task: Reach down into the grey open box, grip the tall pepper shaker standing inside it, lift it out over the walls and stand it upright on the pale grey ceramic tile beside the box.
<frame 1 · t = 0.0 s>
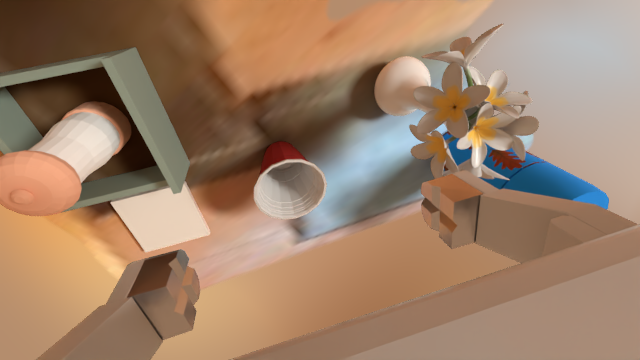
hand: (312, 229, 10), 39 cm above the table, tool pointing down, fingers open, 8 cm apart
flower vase: (388, 80, 49), on the table
ceramic tile: (165, 216, 52), on the table
pepper shaker: (103, 125, 42), resting in grey open box
plastic cup: (281, 156, 51), on the table
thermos: (456, 147, 60), on the table
grey open box: (102, 125, 42), on the table
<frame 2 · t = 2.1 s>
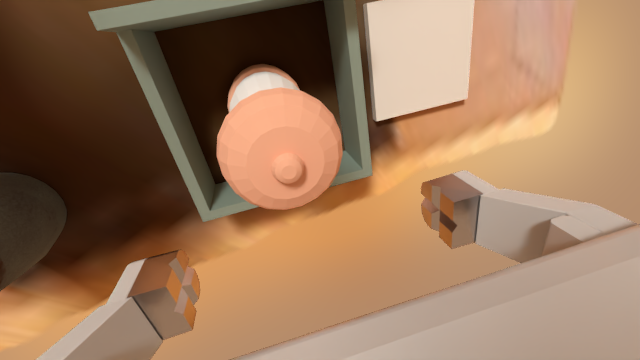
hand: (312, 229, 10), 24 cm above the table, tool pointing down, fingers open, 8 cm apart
ceramic tile: (418, 56, 32), on the table
pepper shaker: (264, 100, 31), resting in grey open box
bottle: (21, 206, 29), on the table
grey open box: (264, 100, 30), on the table
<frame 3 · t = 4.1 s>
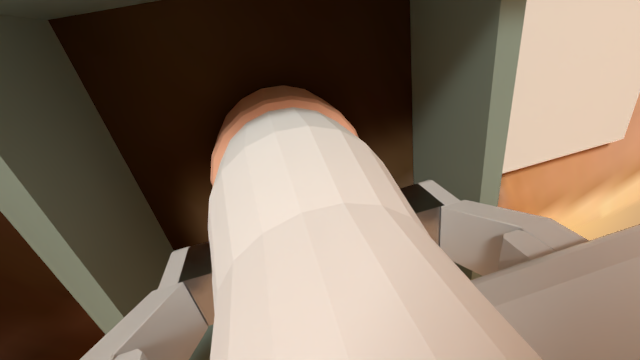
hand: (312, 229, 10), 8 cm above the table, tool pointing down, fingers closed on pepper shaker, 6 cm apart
ceramic tile: (557, 68, 18), on the table
pepper shaker: (283, 150, 16), resting in grey open box, touching arm, gripper
grey open box: (284, 151, 16), on the table
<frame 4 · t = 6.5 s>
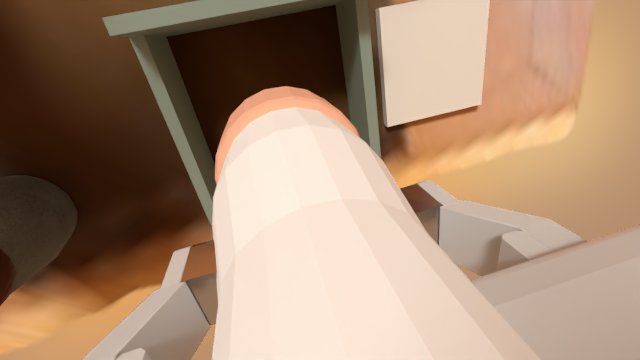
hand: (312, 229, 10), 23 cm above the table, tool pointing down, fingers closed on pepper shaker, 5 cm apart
ceramic tile: (430, 61, 32), on the table
pepper shaker: (286, 149, 17), point 15 cm above the table, touching gripper
bottle: (34, 208, 30), on the table
grey open box: (274, 105, 30), on the table
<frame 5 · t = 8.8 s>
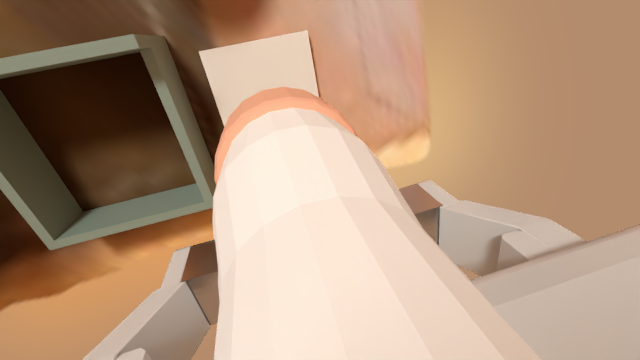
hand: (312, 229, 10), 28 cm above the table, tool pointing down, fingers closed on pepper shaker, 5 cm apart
ceramic tile: (267, 94, 35), on the table
pepper shaker: (285, 149, 17), point 20 cm above the table, touching gripper
grey open box: (117, 136, 33), on the table
when the fingers open (10 cm above the table, at t = 12.5 s): pepper shaker stays where it is, resting on ceramic tile.
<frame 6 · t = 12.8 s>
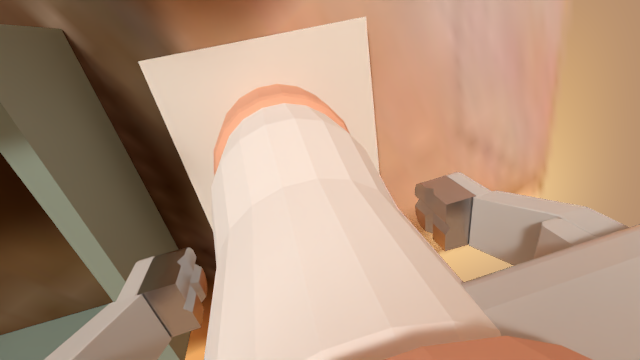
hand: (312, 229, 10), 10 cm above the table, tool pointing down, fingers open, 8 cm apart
ceramic tile: (282, 139, 18), on the table
pepper shaker: (281, 144, 18), point 1 cm above the table, touching ceramic tile
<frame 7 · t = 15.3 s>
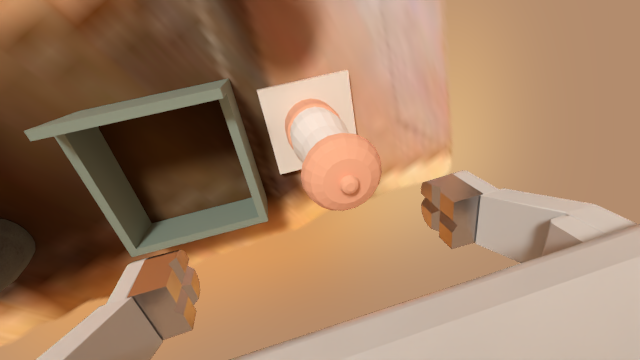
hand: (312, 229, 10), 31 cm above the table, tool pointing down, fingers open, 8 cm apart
ceramic tile: (311, 123, 40), on the table
pepper shaker: (310, 125, 39), point 1 cm above the table, touching ceramic tile
bottle: (1, 241, 39), on the table
grey open box: (185, 160, 39), on the table
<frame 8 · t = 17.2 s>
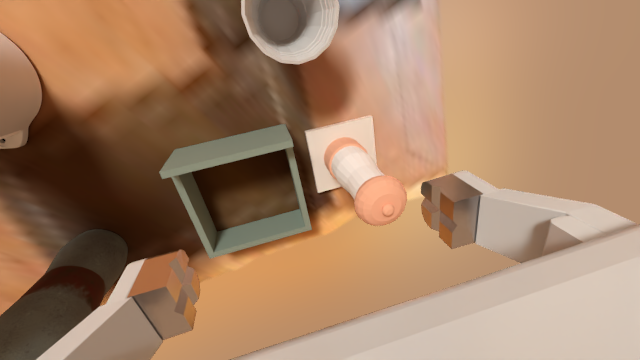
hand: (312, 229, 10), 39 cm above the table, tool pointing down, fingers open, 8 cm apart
ceramic tile: (342, 154, 52), on the table
pepper shaker: (342, 156, 51), point 1 cm above the table, touching ceramic tile
bottle: (102, 247, 50), on the table
plastic cup: (281, 18, 41), on the table
grey open box: (247, 184, 50), on the table
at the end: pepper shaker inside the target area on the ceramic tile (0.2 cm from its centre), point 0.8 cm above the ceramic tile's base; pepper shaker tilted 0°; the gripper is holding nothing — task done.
